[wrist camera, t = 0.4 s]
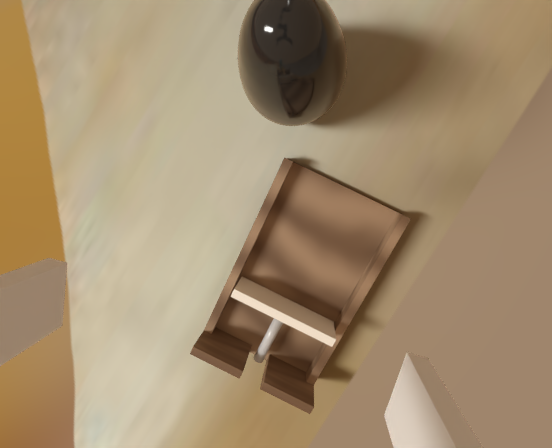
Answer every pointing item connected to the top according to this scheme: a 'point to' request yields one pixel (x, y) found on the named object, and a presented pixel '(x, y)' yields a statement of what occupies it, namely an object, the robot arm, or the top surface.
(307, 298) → the brown wooden tray
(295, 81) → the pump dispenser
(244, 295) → the pusher
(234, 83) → the top surface
